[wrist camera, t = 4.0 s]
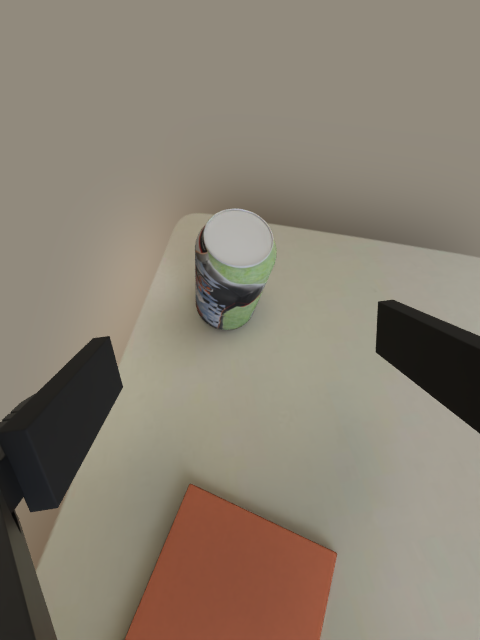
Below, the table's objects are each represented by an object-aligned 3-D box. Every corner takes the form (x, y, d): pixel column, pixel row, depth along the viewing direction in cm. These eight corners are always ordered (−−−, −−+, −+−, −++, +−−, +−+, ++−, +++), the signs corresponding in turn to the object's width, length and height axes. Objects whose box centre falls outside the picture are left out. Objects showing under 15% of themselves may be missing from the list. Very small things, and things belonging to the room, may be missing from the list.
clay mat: (108, 680, 19) (105, 684, 19) (190, 483, 24) (189, 483, 24) (285, 793, 17) (286, 800, 17) (335, 552, 22) (337, 553, 22)
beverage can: (209, 277, 33) (194, 185, 22) (273, 295, 32) (290, 207, 21) (188, 326, 30) (158, 248, 20) (256, 346, 29) (266, 277, 18)
